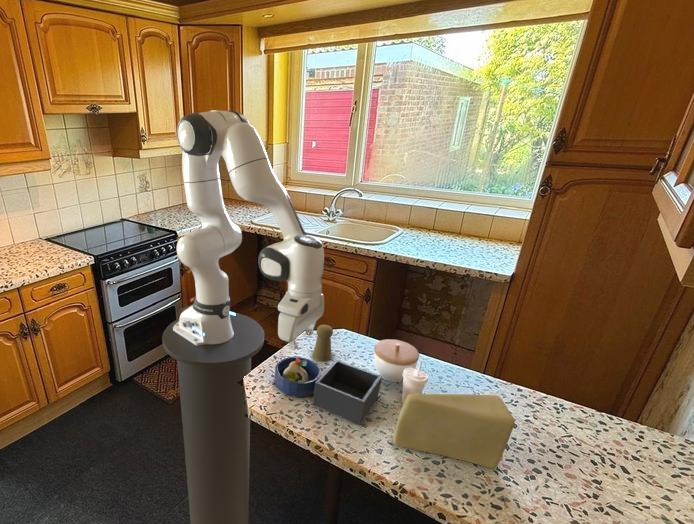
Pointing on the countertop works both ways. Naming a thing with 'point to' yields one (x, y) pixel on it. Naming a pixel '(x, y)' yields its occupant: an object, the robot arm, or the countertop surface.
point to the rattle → (296, 371)
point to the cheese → (455, 426)
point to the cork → (323, 343)
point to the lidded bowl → (394, 358)
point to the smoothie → (413, 381)
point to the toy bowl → (297, 387)
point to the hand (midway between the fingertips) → (301, 341)
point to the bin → (347, 391)
